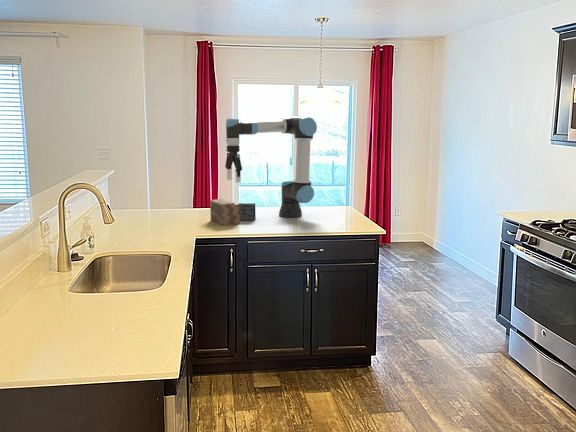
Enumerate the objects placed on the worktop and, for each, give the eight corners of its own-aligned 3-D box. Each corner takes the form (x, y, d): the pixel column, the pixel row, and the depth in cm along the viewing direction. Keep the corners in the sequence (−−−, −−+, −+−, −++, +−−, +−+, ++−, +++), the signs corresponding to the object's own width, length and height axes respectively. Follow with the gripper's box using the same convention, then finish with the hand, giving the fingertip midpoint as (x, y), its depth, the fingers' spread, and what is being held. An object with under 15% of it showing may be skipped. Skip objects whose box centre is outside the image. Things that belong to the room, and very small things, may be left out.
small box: (255, 219, 372) (255, 203, 370) (254, 221, 366) (254, 204, 364) (239, 218, 373) (239, 202, 372) (237, 220, 367) (237, 204, 365)
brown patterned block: (226, 219, 372) (226, 198, 370) (239, 223, 357) (239, 202, 355) (210, 220, 366) (210, 200, 364) (223, 225, 351) (222, 204, 349)
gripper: (219, 144, 351) (220, 179, 354) (235, 146, 329) (236, 183, 333) (230, 143, 354) (231, 178, 358) (247, 146, 332) (248, 183, 336)
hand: (233, 181), depth 345 cm, fingers open, 13 cm apart
